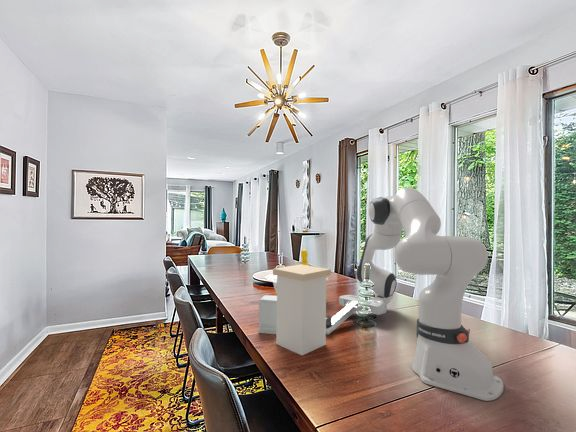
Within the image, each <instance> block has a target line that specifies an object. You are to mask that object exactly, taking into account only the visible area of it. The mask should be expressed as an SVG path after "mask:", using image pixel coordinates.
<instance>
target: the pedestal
mask: <svg viewBox="0 0 576 432" xmlns="http://www.w3.org/2000/svg"><path fill="white" fill-rule="evenodd" d="M308 265H309V264H308ZM308 265H302V264H301V263H300V264H295V265H287V266H282V267H276V268H273V269H272V274H273V275H277V284H276V285H277V286H276V287H277V290H276V291H277V292H276V296H277V332H276V334H275V335H276V336H275V337H276V341H275V343H276V345H278V346H280V347H282V348H284V349H286V350H288V351H291V352H293V353H295V354H298V355H300V356H304V355H306V354H308V353H311V352H313V351H315V350H317V349H319V348H322V347H325V346H326V345H327V342H326V341H327V339H326V336H327V334H326V316H327V280H326V277H329V276H331V270H332V269H331V268H325V267H320V266H319V267H318V266H314V265H313V266H312V265H309V266H308Z"/></svg>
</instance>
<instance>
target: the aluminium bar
mask: <svg viewBox="0 0 576 432" xmlns="http://www.w3.org/2000/svg"><path fill="white" fill-rule="evenodd" d="M358 303H359V302H358V301H354V300H353V301H352V302H350V303H349V304H348V305H347V306H346V307H345V306H343V308H342V309H341V310H340V311H338V312H337V313H336V314H334V315H333V316H330V315H326V336H329V335H330V334H331V333H333V332H334V331H335V330H336V329H337V328H339V326H340V325H342V324H343V323H344V322H345V321H346V320H347V319H349V318H350V317H351V316H352V315H353V314H355V312H356V311H354V306H358Z"/></svg>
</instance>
